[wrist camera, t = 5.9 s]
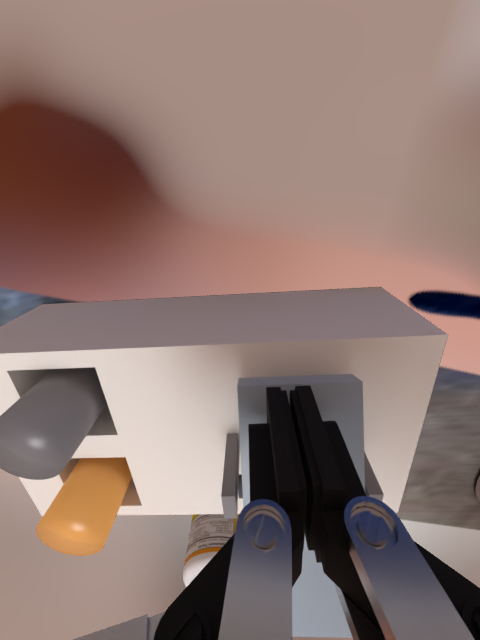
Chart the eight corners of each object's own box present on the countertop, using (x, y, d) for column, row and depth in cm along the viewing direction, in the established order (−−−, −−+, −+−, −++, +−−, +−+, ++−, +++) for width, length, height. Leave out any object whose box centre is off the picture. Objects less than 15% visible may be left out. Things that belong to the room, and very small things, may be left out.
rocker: (350, 367, 13) (370, 381, 11) (355, 582, 14) (375, 638, 12) (233, 371, 13) (229, 386, 11) (244, 582, 14) (243, 636, 12)
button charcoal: (124, 334, 18) (48, 420, 11) (136, 379, 19) (76, 479, 13) (71, 336, 18) (-35, 422, 11) (87, 381, 20) (2, 480, 13)
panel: (380, 286, 19) (516, 383, 9) (358, 428, 24) (430, 581, 15) (42, 304, 20) (-146, 405, 10) (93, 435, 25) (0, 580, 16)
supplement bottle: (255, 497, 29) (258, 644, 19) (201, 496, 29) (179, 641, 19) (255, 460, 26) (258, 606, 17) (197, 459, 26) (169, 604, 17)
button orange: (144, 409, 21) (94, 516, 14) (154, 444, 22) (112, 555, 15) (98, 411, 21) (25, 516, 14) (110, 445, 22) (50, 555, 16)
